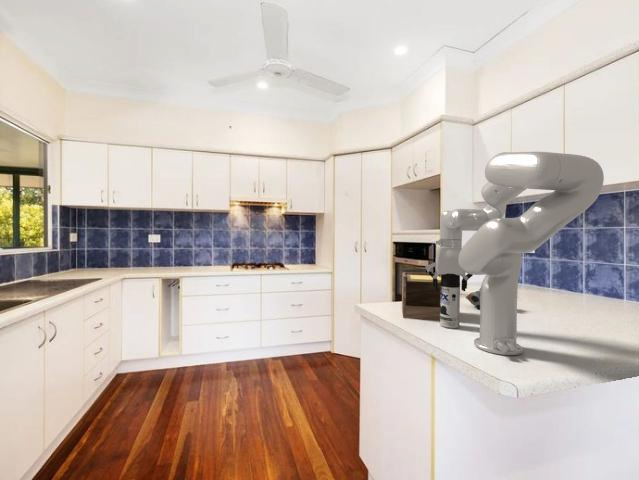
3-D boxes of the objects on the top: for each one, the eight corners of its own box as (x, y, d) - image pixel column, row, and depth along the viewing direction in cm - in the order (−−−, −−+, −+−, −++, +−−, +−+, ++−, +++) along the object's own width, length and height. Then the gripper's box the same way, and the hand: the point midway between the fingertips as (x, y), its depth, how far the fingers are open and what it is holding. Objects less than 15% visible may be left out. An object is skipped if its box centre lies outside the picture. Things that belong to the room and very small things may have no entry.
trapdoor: (443, 282, 121) (443, 279, 121) (407, 281, 124) (407, 277, 124) (438, 278, 134) (438, 275, 134) (406, 276, 138) (406, 274, 138)
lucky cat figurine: (483, 303, 151) (499, 281, 147) (499, 319, 141) (517, 295, 136) (460, 296, 147) (475, 273, 143) (475, 311, 136) (492, 286, 132)
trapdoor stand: (447, 321, 119) (448, 278, 119) (402, 317, 123) (403, 276, 123) (441, 311, 136) (441, 273, 135) (401, 308, 140) (402, 272, 140)
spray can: (436, 324, 114) (436, 272, 114) (450, 323, 116) (450, 271, 116) (449, 329, 108) (450, 274, 107) (463, 328, 110) (464, 273, 110)
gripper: (427, 243, 110) (426, 290, 111) (478, 245, 106) (477, 293, 107) (425, 243, 118) (424, 286, 118) (473, 244, 113) (472, 289, 114)
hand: (449, 289), depth 112 cm, fingers open, 9 cm apart
